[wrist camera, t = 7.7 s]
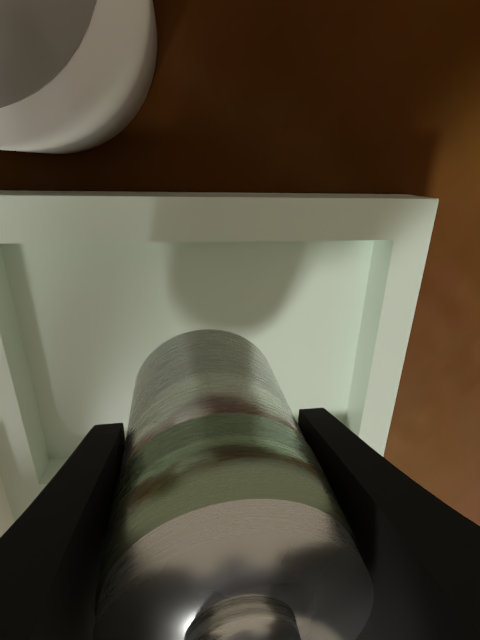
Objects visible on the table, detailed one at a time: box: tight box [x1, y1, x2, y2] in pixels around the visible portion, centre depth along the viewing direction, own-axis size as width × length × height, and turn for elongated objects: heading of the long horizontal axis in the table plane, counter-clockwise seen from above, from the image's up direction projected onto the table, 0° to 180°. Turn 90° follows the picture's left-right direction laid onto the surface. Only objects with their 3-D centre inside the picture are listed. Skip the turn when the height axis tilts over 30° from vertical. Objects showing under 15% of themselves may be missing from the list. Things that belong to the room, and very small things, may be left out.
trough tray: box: [0, 190, 439, 521], centre depth 15 cm, size 20×14×2 cm
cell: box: [92, 329, 374, 640], centre depth 8 cm, size 4×4×6 cm
